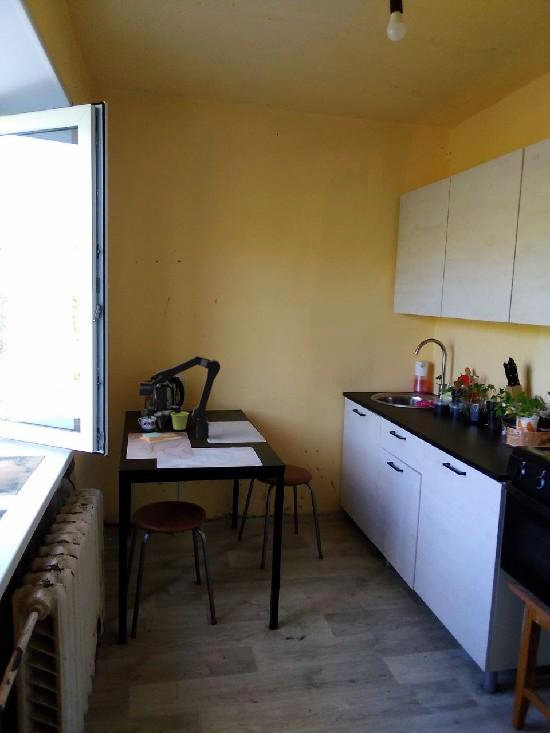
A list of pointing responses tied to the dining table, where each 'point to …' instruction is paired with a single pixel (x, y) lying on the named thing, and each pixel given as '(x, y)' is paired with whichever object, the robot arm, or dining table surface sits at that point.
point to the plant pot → (179, 420)
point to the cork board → (165, 437)
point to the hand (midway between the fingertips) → (161, 428)
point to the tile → (152, 437)
